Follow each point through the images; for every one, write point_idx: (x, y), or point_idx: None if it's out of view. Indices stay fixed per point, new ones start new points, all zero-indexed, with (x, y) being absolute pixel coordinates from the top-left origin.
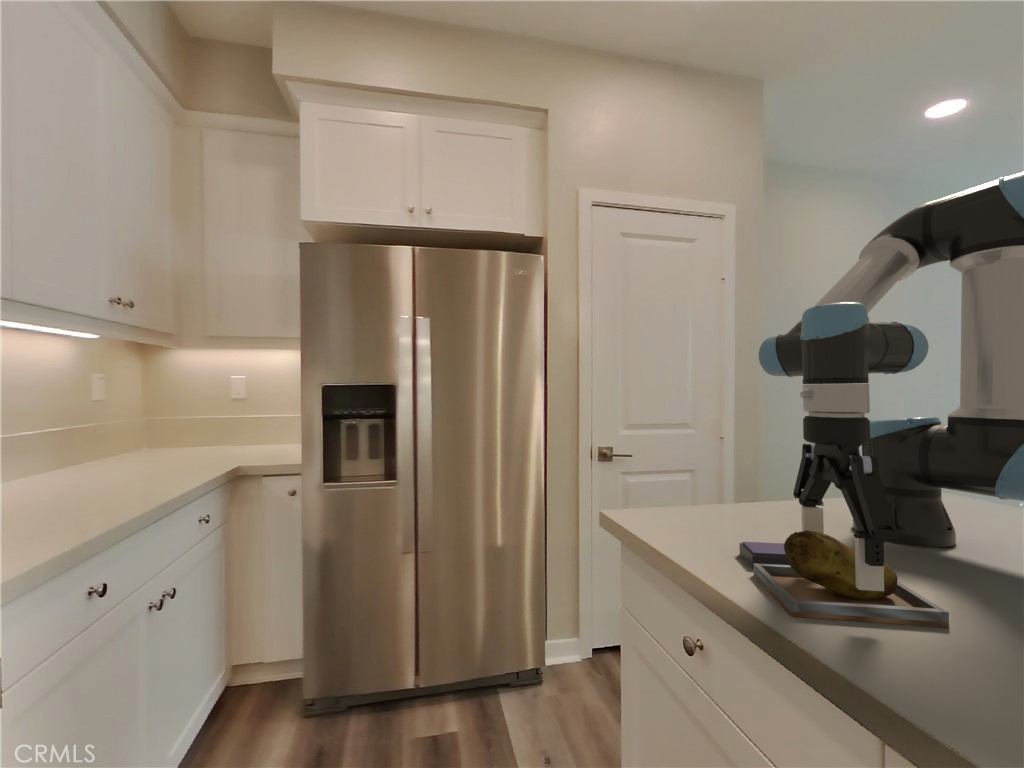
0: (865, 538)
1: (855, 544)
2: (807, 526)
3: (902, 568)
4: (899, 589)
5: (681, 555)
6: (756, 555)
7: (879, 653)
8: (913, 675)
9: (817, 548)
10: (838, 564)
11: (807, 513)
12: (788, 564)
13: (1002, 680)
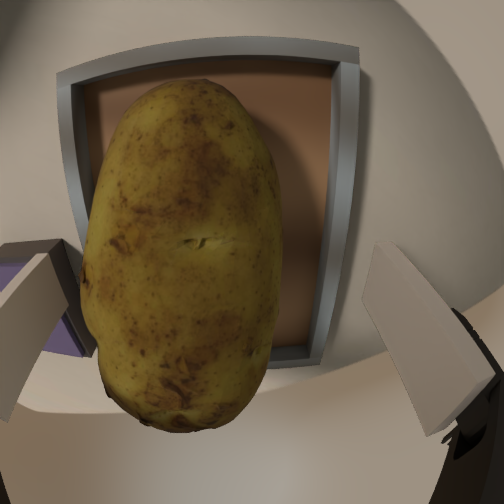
0: (460, 414)
1: (417, 406)
2: (29, 355)
3: (8, 13)
4: (177, 62)
5: (103, 401)
6: (84, 350)
7: (423, 267)
8: (462, 253)
9: (249, 400)
10: (273, 328)
11: (8, 396)
12: (68, 285)
13: (482, 138)
